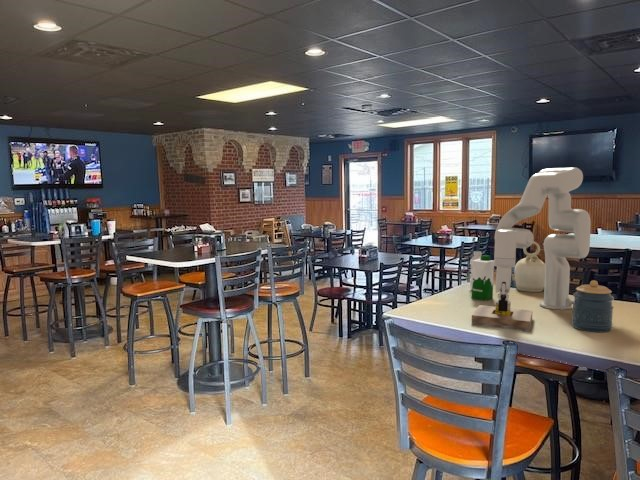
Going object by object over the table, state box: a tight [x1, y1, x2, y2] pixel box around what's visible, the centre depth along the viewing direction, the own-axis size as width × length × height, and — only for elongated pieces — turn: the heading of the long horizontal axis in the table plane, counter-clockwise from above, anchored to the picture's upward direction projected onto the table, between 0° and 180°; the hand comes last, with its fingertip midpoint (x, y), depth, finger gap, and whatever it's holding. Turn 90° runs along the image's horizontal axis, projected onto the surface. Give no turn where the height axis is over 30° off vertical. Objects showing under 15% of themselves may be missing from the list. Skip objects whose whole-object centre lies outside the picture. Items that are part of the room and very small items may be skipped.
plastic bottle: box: [469, 250, 483, 291], centre depth 238 cm, size 6×7×20 cm
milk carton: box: [470, 254, 495, 301], centre depth 221 cm, size 9×9×20 cm
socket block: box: [471, 304, 534, 332], centre depth 181 cm, size 20×18×4 cm
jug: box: [513, 241, 545, 293], centre depth 241 cm, size 15×16×25 cm
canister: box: [571, 279, 615, 333], centre depth 173 cm, size 13×13×18 cm
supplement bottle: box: [495, 293, 512, 316], centre depth 181 cm, size 5×5×10 cm
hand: (502, 308), depth 181 cm, fingers closed on supplement bottle, 5 cm apart
